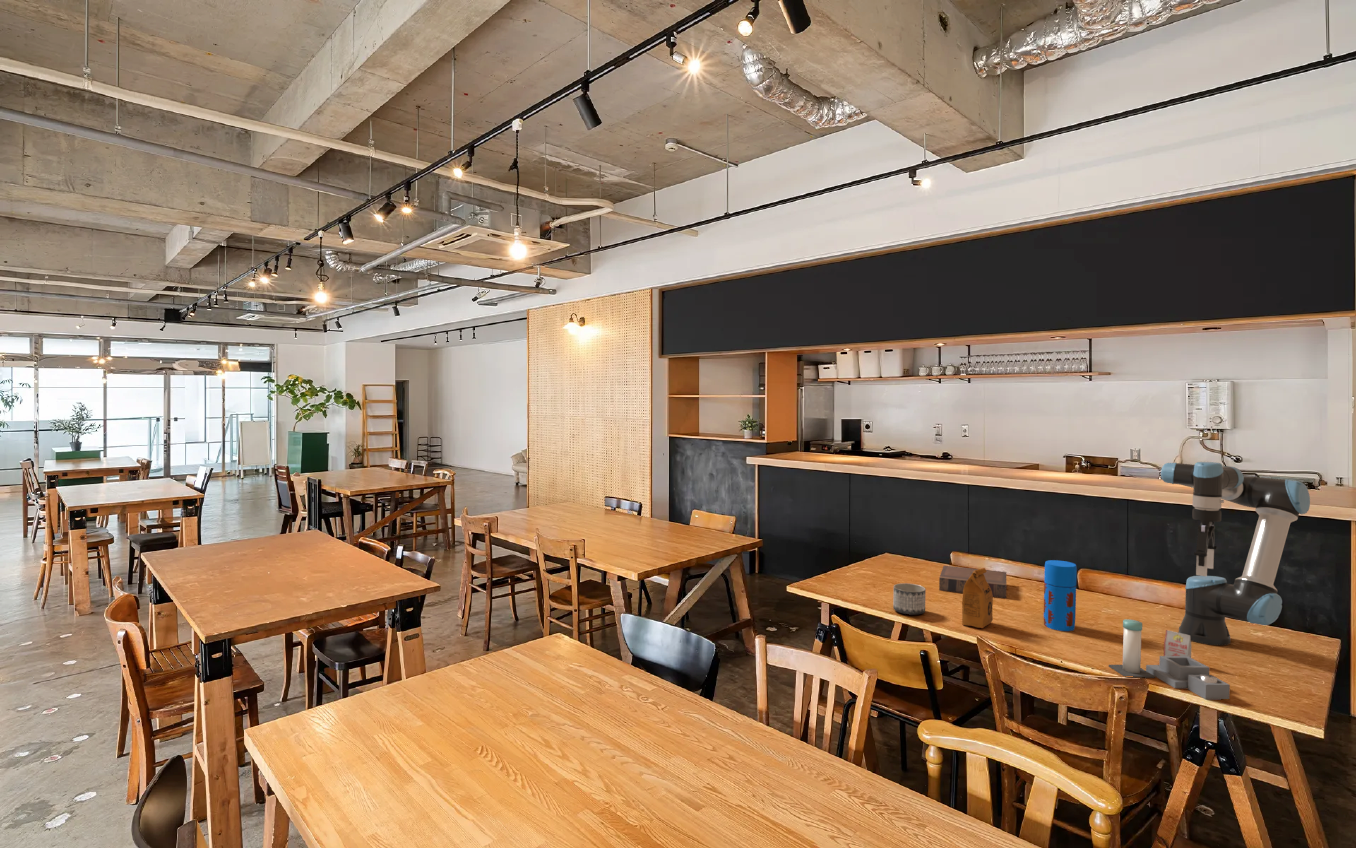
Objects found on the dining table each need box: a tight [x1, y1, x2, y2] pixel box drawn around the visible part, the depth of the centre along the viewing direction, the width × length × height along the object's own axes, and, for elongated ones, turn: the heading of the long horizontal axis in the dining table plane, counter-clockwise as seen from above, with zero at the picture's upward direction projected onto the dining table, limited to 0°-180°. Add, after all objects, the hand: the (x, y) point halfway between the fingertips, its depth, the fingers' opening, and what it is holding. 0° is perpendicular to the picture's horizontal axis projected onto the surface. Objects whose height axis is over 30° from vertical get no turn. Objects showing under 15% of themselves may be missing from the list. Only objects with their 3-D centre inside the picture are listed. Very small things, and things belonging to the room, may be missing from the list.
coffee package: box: [961, 567, 994, 629], centre depth 262 cm, size 10×12×22 cm
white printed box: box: [1163, 629, 1192, 658], centre depth 225 cm, size 4×7×10 cm, turn 39°
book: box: [938, 565, 1007, 599], centre depth 313 cm, size 24×28×6 cm
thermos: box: [1043, 559, 1078, 632], centre depth 259 cm, size 11×11×25 cm
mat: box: [1108, 664, 1156, 679], centre depth 217 cm, size 9×9×1 cm
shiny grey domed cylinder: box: [1200, 673, 1218, 683], centre depth 200 cm, size 4×4×5 cm
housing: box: [1145, 655, 1231, 700], centre depth 207 cm, size 20×14×6 cm
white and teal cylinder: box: [1122, 618, 1143, 673], centre depth 216 cm, size 5×5×16 cm
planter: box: [892, 582, 927, 616], centre depth 277 cm, size 13×13×10 cm
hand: (1204, 571), depth 221 cm, fingers open, 13 cm apart
